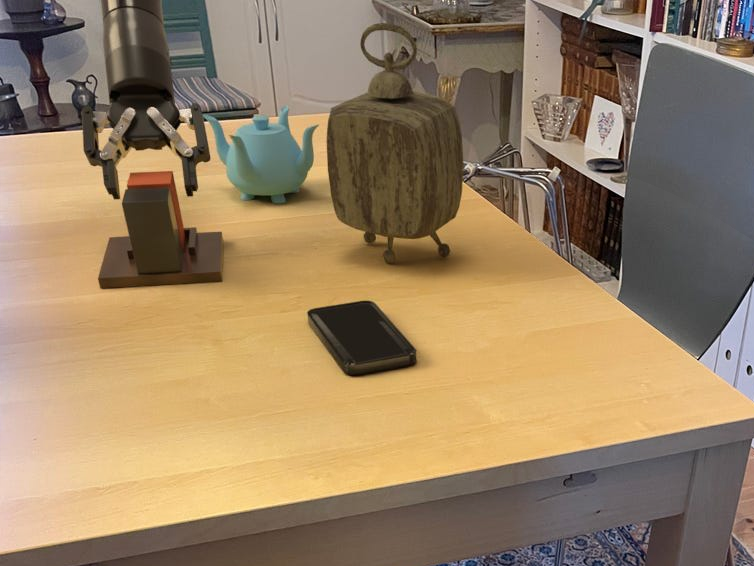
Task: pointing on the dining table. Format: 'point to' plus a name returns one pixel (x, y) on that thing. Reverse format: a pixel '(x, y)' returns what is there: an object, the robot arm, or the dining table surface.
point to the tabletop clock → (395, 157)
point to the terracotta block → (159, 181)
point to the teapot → (265, 157)
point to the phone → (361, 337)
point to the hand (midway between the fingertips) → (152, 194)
